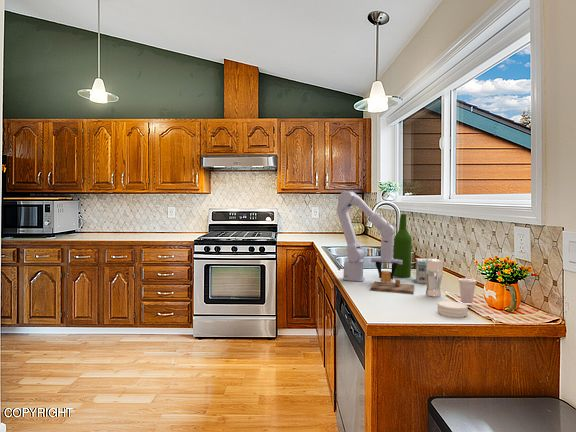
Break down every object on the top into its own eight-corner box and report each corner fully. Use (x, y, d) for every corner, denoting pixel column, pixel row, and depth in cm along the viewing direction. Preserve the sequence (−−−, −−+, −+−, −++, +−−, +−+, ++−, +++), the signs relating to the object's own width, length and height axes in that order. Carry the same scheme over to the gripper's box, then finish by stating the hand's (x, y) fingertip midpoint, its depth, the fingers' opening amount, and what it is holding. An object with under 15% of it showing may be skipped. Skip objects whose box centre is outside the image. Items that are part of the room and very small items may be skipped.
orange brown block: (380, 281, 190) (380, 272, 190) (381, 279, 194) (381, 270, 194) (390, 282, 188) (391, 273, 188) (391, 280, 193) (391, 271, 192)
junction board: (370, 290, 176) (370, 280, 176) (374, 283, 189) (374, 275, 189) (413, 293, 170) (413, 284, 170) (414, 287, 183) (414, 278, 183)
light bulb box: (432, 284, 191) (433, 261, 191) (417, 283, 192) (418, 261, 192) (429, 279, 202) (429, 258, 201) (415, 278, 203) (416, 257, 202)
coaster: (473, 315, 140) (473, 305, 140) (456, 319, 135) (456, 309, 135) (448, 308, 149) (448, 299, 149) (431, 312, 143) (431, 302, 143)
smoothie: (454, 302, 157) (455, 267, 156) (470, 302, 157) (471, 267, 157) (463, 306, 151) (464, 270, 150) (479, 306, 151) (480, 270, 150)
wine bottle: (396, 273, 215) (398, 213, 214) (413, 276, 210) (414, 214, 209) (390, 276, 208) (392, 214, 207) (407, 278, 203) (409, 214, 201)
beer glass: (441, 294, 170) (442, 259, 170) (442, 298, 164) (443, 261, 163) (424, 292, 173) (425, 258, 172) (424, 296, 166) (425, 260, 165)
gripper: (370, 250, 189) (369, 278, 190) (402, 251, 184) (401, 281, 185) (372, 248, 196) (371, 275, 196) (403, 250, 191) (402, 278, 192)
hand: (386, 278), depth 191 cm, fingers closed on orange brown block, 5 cm apart
